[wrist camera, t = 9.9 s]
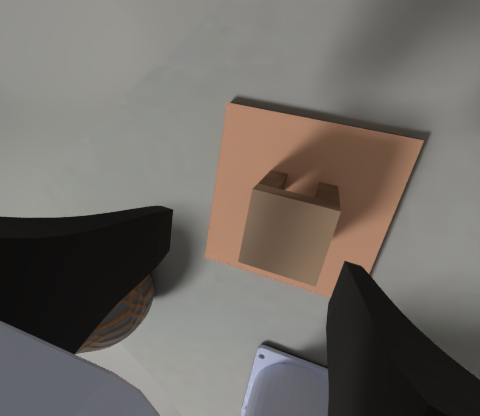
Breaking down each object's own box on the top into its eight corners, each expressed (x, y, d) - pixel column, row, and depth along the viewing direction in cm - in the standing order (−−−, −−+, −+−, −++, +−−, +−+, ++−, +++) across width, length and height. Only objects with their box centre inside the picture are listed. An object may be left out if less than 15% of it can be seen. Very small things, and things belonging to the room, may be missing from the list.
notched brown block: (338, 186, 18) (340, 211, 14) (318, 246, 20) (315, 286, 15) (270, 170, 19) (252, 188, 15) (257, 228, 21) (237, 262, 16)
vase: (94, 245, 27) (-4, 301, 19) (154, 241, 25) (72, 303, 17) (116, 306, 29) (36, 380, 21) (174, 308, 27) (108, 392, 19)
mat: (355, 300, 21) (355, 305, 20) (207, 253, 23) (204, 257, 23) (420, 139, 16) (424, 140, 16) (229, 102, 19) (227, 102, 18)
